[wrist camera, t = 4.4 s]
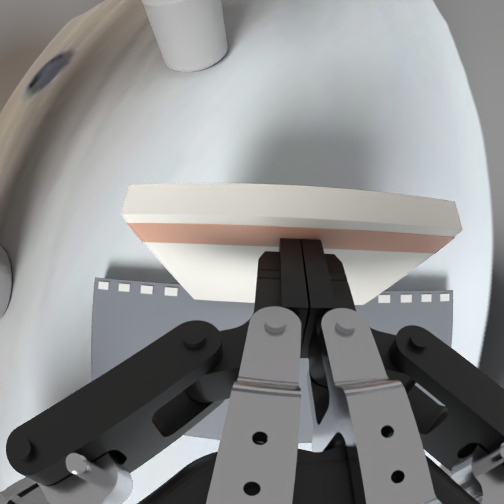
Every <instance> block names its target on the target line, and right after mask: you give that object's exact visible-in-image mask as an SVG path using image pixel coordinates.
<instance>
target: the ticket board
mask: <svg viewBox="0 0 504 504" xmlns="http://www.w3.org/2000/svg"><path fill="white" fill-rule="evenodd" d="M254 306H255V303H246V302H227V301H210V300H195V299H193V298H192V296H191V295H190V294H189V293H188V292H187V291H186V290H185V289H184V288H183V287H182V286H181V284H168V283H154V282H141V281H129V280H117V279H106V278H95V283H94V295H93V310H92V337H91V366H92V381H93V380H95V379H97V378H98V377H100V376H101V375H103V374H104V373H106V372H108V371H109V370H111V369H112V368H114V367H115V366H117V365H119V364H120V363H122V362H123V361H125V360H126V359H128V358H129V357H131V356H132V355H134V354H136V353H137V352H139V351H140V350H142V349H143V348H145V347H146V346H148V345H149V344H151V343H152V342H154V341H155V340H157V339H159V338H160V337H162V336H163V335H165V334H166V333H168V332H169V331H171V330H172V329H174V328H175V327H177V326H178V325H180V324H182V323H184V322H187V321H193V320H201V321H206V322H209V323H211V324H212V325H214V326H215V327H216V328H217V329H218V330H219V331H222V330H227V329H232V328H236V327H239V326H241V325H243V324H244V323H246V322H247V321H248V320H249V319H250V318H251V316H252V315H253V312H254ZM355 308H356V312H358V313H360V314H361V315H362V316H363V317H364V318H365V319H366V320H367V322H368V324H369V327H370V328H372V329H375V330H377V331H381V332H385V333H389V334H393V335H397V333H398V331H399V330H400V329H401V328H403V327H405V326H409V325H416V326H420V327H422V328H425V329H426V330H428V331H429V332H431V333H432V334H433V335H435V336H436V337H437V338H439V339H440V340H441V341H443V342H444V343H445V344H447V345H448V346H449V347H451V343H452V325H453V290H440V291H383V292H382V293H380V294H379V295H377V296H376V297H375V298H373V299H372V300H370V301H369V302H367V303H366V304H364V305H355ZM308 369H309V360H308V358H300V371H299V388H301V409H300V424H299V438H298V443H312V437H313V422H312V414H311V407H310V400H309V393H308V386H307V373H308ZM415 385H416V386H417V387H418V388H419V389H421V390H422V391H423V392H424V393H426V394H427V395H428V396H429V397H430V398H432V399H433V400H434V401H435V402H437V403H438V404H439V405H441V406H444V404H442V403H441V402H440V401H439V400H437V399H436V398H435V397H434V396H433V395H431V394H430V393H429V392H428V391H426V390H425V389H424V388H423V387H422V386H420V385H419V384H418V383H416V384H415ZM229 400H230V398H229V399H225V400H224V402H223V403H222V404H221V405H220V406H218V407H217V408H216V409H215V410H214V411H212V412H211V413H210V414H209V415H207V416H206V417H205V418H204V419H203V420H201V421H200V422H199V423H198V424H196V425H195V426H194V427H193V428H191V429H190V430H189V431H187V432H186V433H185V434H184V435H186V436H193V437H200V438H208V439H217V440H221V436H222V431H223V427H224V422H225V418H226V413H227V409H228V404H229Z"/></svg>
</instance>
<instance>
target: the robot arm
mask: <svg viewBox="0 0 504 504" xmlns="http://www.w3.org/2000/svg"><path fill="white" fill-rule="evenodd" d="M11 285H12V274H11V265H10V261H9V258H8V255H7V253H6V251H5V250H4V248H2V247H1V246H0V318H1V317H2V316H3V314H4V313H5V311H6V309H7V306H8V303H9V299H10V294H11ZM300 358H308V360H309V369H308V373H307V386H308V393H309V400H310V407H311V414H312V422H313V437H312V452H311V451H306V450H302V449H298V438H299V424H300V409H301V388H299V371H300ZM416 383H418V384H419V385H420V386H422V387H423V388H424V389H425V390H426V391H428V392H429V393H430V394H431V395H433V396H434V397H435V398H436V399H437V400H439V401H440V402H441V403H442V404H444V405H445V406H441V405H439V404H438V403H437V402H435V401H434V400H433V399H432V398H430V397H429V396H428V395H427V394H426V393H424V392H423V391H422V390H421V389H419V388H418V387H417V386H416V385H415V384H416ZM229 398H230V400H229V404H228V409H227V413H226V418H225V422H224V427H223V431H222V436H221V440H220V445H219V449H218V452H215V453H211V454H209V455H206V456H203V457H201V458H199V459H197V460H195V461H193V462H192V463H190V464H188V465H187V466H186V467H184V468H183V469H182V470H180V471H179V472H178V473H177V474H176V475H174V476H173V477H172V478H171V479H169V480H168V481H167V482H166V483H164V484H163V485H162V486H160V487H159V488H158V489H156V490H155V491H154V492H153V493H151V494H150V495H148V496H147V497H146V498H144V499H143V500H142V501H140V502H139V503H137V504H504V389H503V388H501V387H500V386H499V385H498V384H497V383H495V382H494V381H493V380H492V379H490V378H489V377H488V376H487V375H485V374H484V373H483V372H482V371H480V370H479V369H478V368H477V367H475V366H474V365H473V364H471V363H470V362H469V361H468V360H466V359H465V358H464V357H462V356H461V355H460V354H458V353H457V352H456V351H455V350H453V349H452V348H451V347H449V346H448V345H447V344H445V343H444V342H443V341H441V340H440V339H439V338H437V337H436V336H435V335H433V334H432V333H431V332H429V331H428V330H426V329H425V328H422V327H420V326H416V325H409V326H405V327H403V328H401V329H400V330H399V331H398V333H397V335H393V334H389V333H385V332H381V331H377V330H375V329H372V328H370V327H369V324H368V322H367V320H366V319H365V318H364V317H363V316H362V315H361V314H360V313H358V312H356V308H355V305H354V301H353V297H352V294H351V290H350V287H349V284H348V282H347V277H346V274H345V270H344V267H343V264H342V262H341V261H340V260H339V259H338V258H337V257H336V256H335V254H324V250H323V246H322V242H321V240H309V239H301V242H300V239H287V238H280V242H279V252H275V251H265V252H264V253H263V254H262V255H261V257H260V258H259V259H258V270H257V282H256V294H255V306H254V312H253V315H252V316H251V318H250V319H249V320H248V321H247V322H246V323H244V324H243V325H241V326H239V327H236V328H232V329H227V330H222V331H219V330H218V329H217V328H216V327H215V326H214V325H212V324H211V323H209V322H206V321H201V320H193V321H187V322H184V323H182V324H180V325H178V326H177V327H175V328H174V329H172V330H171V331H169V332H168V333H166V334H165V335H163V336H162V337H160V338H159V339H157V340H155V341H154V342H152V343H151V344H149V345H148V346H146V347H145V348H143V349H142V350H140V351H139V352H137V353H136V354H134V355H132V356H131V357H129V358H128V359H126V360H125V361H123V362H122V363H120V364H119V365H117V366H115V367H114V368H112V369H111V370H109V371H108V372H106V373H104V374H103V375H101V376H100V377H98V378H97V379H95V380H93V381H92V382H90V383H89V384H87V385H86V386H84V387H82V388H81V389H79V390H78V391H76V392H74V393H73V394H71V395H70V396H68V397H66V398H65V399H63V400H62V401H60V402H58V403H57V404H55V405H53V406H52V407H50V408H49V409H47V410H45V411H44V412H42V413H40V414H39V415H37V416H35V417H34V418H32V419H31V420H29V421H27V422H26V423H24V424H22V425H21V426H19V427H17V428H16V429H14V430H13V431H12V432H11V434H10V435H9V437H8V440H7V444H6V454H7V458H8V460H9V463H10V464H11V466H12V467H13V468H14V469H15V470H16V471H17V472H19V473H20V474H22V475H24V476H26V477H28V478H30V479H32V480H34V481H35V482H36V483H37V484H38V485H39V486H40V488H41V490H42V492H43V493H44V495H45V497H46V499H47V500H48V502H49V504H122V503H123V502H124V501H125V500H126V499H127V498H128V497H129V496H130V494H131V492H132V488H133V481H132V478H131V475H130V473H131V472H132V471H134V470H135V469H137V468H138V467H140V466H141V465H143V464H144V463H145V462H147V461H148V460H150V459H151V458H153V457H154V456H155V455H157V454H158V453H160V452H161V451H162V450H164V449H165V448H166V447H168V446H169V445H170V444H172V443H173V442H174V441H176V440H177V439H178V438H180V437H181V436H182V435H184V434H185V433H186V432H187V431H189V430H190V429H191V428H193V427H194V426H195V425H196V424H198V423H199V422H200V421H201V420H203V419H204V418H205V417H206V416H207V415H209V414H210V413H211V412H212V411H214V410H215V409H216V408H217V407H218V406H220V405H221V404H222V403H223V402H224V400H225V399H229ZM424 450H426V451H427V452H428V453H429V454H430V455H431V456H433V457H434V458H435V459H436V460H437V461H439V462H440V463H441V464H442V465H444V466H445V467H446V468H447V469H449V470H450V471H451V475H450V476H449V475H447V474H446V473H445V472H444V471H443V470H442V469H441V468H440V467H438V466H437V465H436V464H435V463H434V462H433V461H432V460H431V459H430V458H428V457H427V456H426V455H425V452H424Z"/></svg>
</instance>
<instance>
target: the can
mask: <svg viewBox="0 0 504 504" xmlns="http://www.w3.org/2000/svg"><path fill="white" fill-rule="evenodd" d="M142 3H143V5H144V8H145V11H146V13H147V16H148V19H149V22H150V24H151V27H152V30H153V32H154V35H155V38H156V40H157V43H158V46H159V48H160V51H161V54H162V56H163V59H164V62H165V64H166V66H168V67H169V68H171V69H173V70H177V71H183V72H195V71H201V70H204V69H206V68H209V67H210V66H212V65H214V64H215V63H216V62H218V61H219V60H220V59H221V58H222V57H223V56H224V55H225V54H226V52H227V49H228V47H227V39H226V32H225V25H224V18H223V10H222V3H221V0H142Z"/></svg>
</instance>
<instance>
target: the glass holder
mask: <svg viewBox="0 0 504 504" xmlns="http://www.w3.org/2000/svg"><path fill="white" fill-rule="evenodd" d="M0 504H49V502H48V500H47V499H46V497H45V495H44V493H43V492H42V490H41V488H40V486H39V485H38V484H37V483H36V482H35V481H34V480H32V479H30V478H28V477H26V478H24V479H22V480H20V481H18V482H16V483H14V484H13V485H11V486H9V487H8V488H7V489H6V490H4V491H2V492H0Z"/></svg>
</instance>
